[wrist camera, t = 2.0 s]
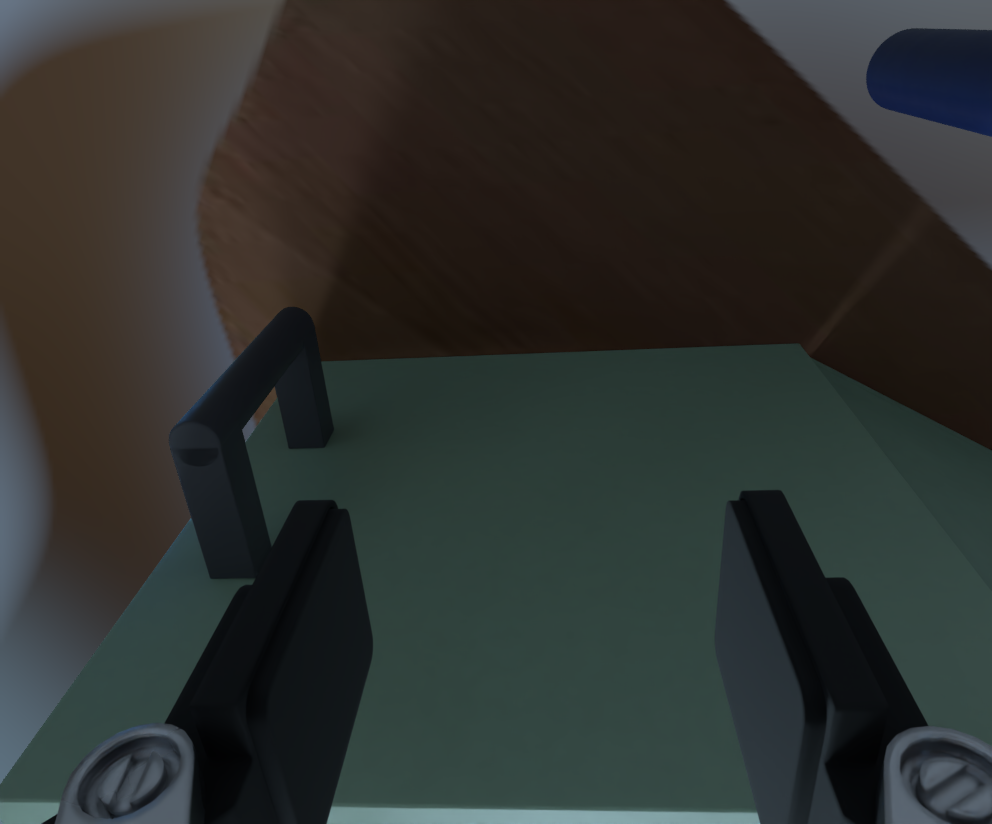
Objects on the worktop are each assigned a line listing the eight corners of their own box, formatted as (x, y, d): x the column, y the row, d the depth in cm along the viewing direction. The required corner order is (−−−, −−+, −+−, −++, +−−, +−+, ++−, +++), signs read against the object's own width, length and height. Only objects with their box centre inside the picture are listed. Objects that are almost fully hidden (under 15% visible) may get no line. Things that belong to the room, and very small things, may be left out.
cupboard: (566, 674, 50) (582, 1229, 27) (809, 356, 39) (1192, 850, 16) (792, 766, 53) (979, 1340, 30) (1080, 495, 41) (1742, 1088, 18)
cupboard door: (281, 256, 38) (-123, 612, 15) (813, 229, 36) (1285, 599, 13) (305, 378, 41) (2, 827, 18) (797, 360, 39) (1152, 847, 16)
